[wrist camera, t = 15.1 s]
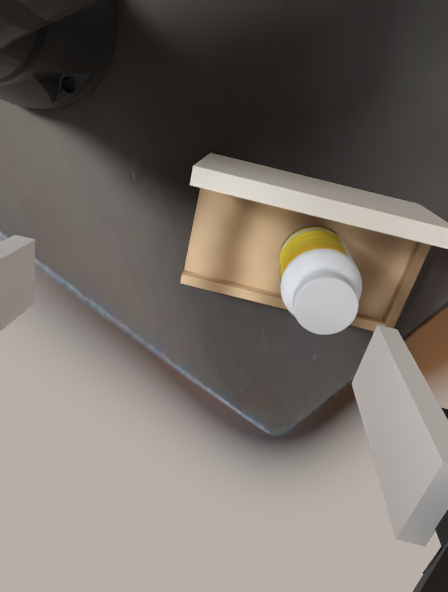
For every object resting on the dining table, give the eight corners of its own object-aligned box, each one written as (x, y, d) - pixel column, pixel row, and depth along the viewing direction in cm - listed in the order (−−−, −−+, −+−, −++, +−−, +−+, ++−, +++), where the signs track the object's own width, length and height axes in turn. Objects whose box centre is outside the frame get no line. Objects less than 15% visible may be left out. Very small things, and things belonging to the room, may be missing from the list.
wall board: (207, 168, 42) (189, 185, 32) (210, 152, 41) (193, 165, 32) (413, 218, 41) (452, 250, 32) (419, 204, 41) (461, 231, 32)
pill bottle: (269, 235, 41) (268, 281, 30) (335, 213, 39) (358, 252, 29) (290, 293, 43) (296, 354, 32) (353, 274, 41) (380, 332, 31)
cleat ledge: (187, 268, 46) (180, 282, 42) (207, 168, 42) (201, 174, 38) (381, 316, 46) (391, 335, 42) (423, 221, 41) (438, 232, 38)
